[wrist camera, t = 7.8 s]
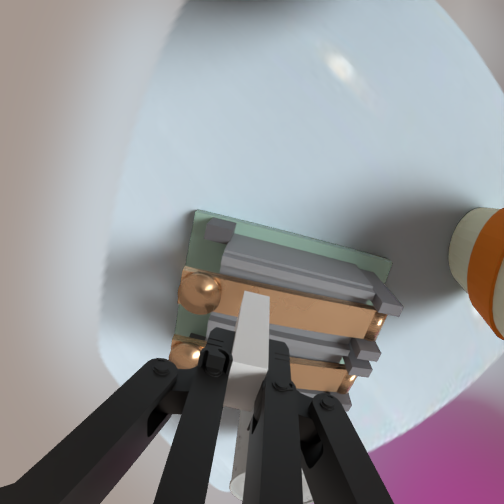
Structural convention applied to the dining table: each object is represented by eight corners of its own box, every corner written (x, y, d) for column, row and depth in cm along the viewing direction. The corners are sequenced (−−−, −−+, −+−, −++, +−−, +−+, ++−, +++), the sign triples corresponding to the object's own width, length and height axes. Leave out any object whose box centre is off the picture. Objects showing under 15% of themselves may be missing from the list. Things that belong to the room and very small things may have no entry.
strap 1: (186, 262, 20) (181, 271, 19) (384, 304, 21) (393, 315, 20) (180, 298, 21) (175, 309, 19) (371, 335, 22) (378, 346, 21)
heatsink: (198, 209, 26) (169, 229, 18) (387, 259, 26) (426, 294, 19) (177, 332, 30) (151, 382, 22) (341, 368, 30) (356, 422, 22)
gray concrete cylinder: (337, 396, 32) (356, 480, 20) (284, 436, 34) (285, 514, 22) (276, 359, 30) (277, 453, 18) (224, 405, 33) (208, 489, 21)
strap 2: (175, 330, 22) (170, 342, 20) (358, 362, 23) (364, 374, 21) (171, 357, 23) (167, 370, 21) (345, 386, 24) (350, 398, 22)
